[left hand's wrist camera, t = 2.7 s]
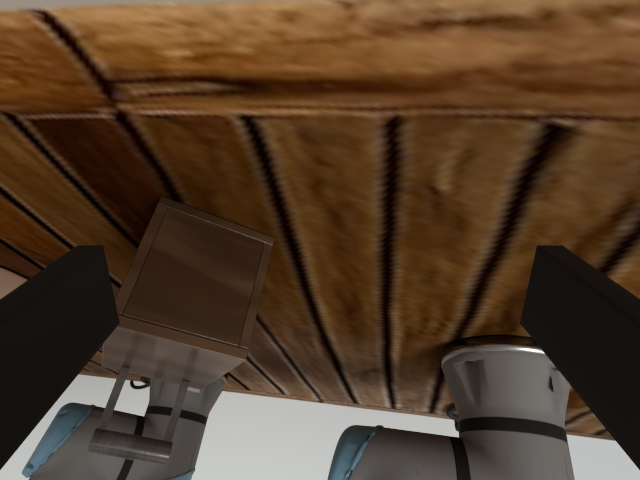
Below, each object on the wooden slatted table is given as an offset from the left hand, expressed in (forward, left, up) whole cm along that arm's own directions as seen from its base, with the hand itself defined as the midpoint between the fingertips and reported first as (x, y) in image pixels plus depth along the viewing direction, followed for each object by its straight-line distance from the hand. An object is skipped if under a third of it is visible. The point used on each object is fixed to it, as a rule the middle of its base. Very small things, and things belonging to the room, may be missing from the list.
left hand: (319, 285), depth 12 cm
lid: (-21, +18, -3) cm, 28 cm away
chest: (-21, +18, -13) cm, 30 cm away
